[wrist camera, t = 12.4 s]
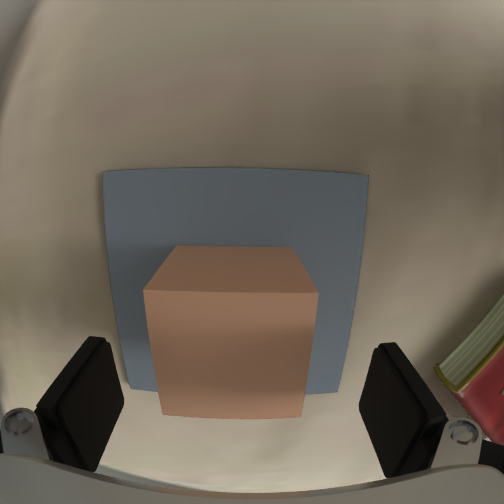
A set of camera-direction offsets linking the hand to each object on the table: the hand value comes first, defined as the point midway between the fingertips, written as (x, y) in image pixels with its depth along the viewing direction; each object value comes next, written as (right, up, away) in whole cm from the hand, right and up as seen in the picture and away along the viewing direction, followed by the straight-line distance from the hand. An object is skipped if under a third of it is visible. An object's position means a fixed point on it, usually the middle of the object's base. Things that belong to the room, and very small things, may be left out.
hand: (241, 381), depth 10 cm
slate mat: (-1, +2, +7) cm, 8 cm away
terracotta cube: (-1, +2, +7) cm, 7 cm away
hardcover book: (+26, -7, +12) cm, 29 cm away
